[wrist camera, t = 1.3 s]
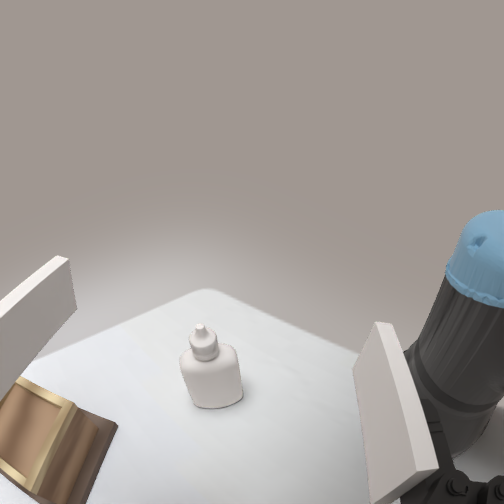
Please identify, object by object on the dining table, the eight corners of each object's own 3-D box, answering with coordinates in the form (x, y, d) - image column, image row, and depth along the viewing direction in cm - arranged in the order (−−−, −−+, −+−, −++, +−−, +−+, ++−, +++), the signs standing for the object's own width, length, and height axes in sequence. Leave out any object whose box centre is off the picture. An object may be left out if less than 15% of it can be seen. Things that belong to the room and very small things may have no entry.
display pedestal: (118, 425, 28) (91, 395, 24) (77, 525, 16) (36, 512, 12) (37, 390, 30) (9, 357, 26) (-4, 467, 19) (-41, 442, 15)
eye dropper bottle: (202, 374, 34) (181, 302, 27) (247, 386, 33) (240, 314, 26) (187, 404, 31) (159, 337, 24) (235, 418, 29) (222, 353, 22)
